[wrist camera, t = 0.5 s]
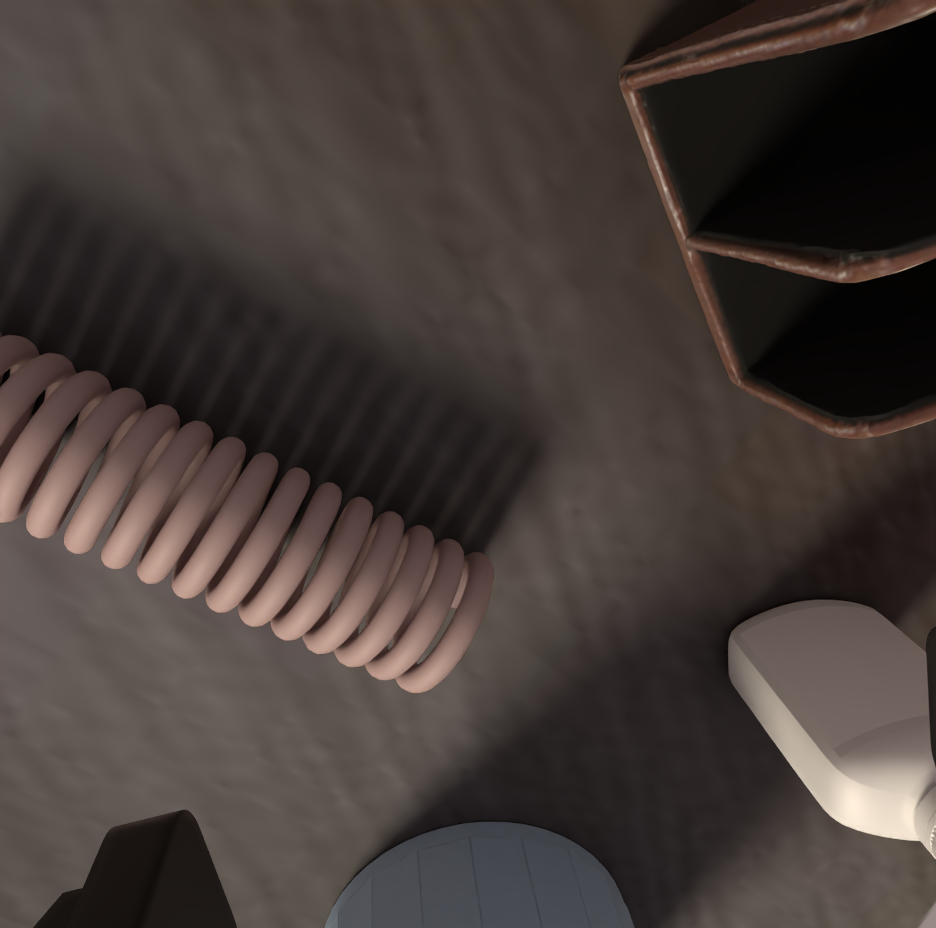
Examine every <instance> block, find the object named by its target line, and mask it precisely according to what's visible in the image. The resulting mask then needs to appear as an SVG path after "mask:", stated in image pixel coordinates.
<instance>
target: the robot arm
mask: <svg viewBox="0 0 936 928" xmlns="http://www.w3.org/2000/svg"><path fill="white" fill-rule="evenodd" d="M926 659H927V679H928V700H929V721H930V741H931V751H932V756H933V760H934V763H935V767H936V627H934V628H933V629H931V631H930V632H929V634H928V637H927V642H926ZM33 928H237V926H236V923H235V920H234V917H233V914H232V911H231V909H230V906H229V903H228V901H227V898H226V896H225V893H224V890H223V888H222V885H221V882H220V880H219V877H218V875H217V872H216V869H215V867H214V864H213V862H212V859H211V856H210V854H209V851H208V848H207V846H206V843H205V841H204V838H203V835H202V833H201V830H200V828H199V825H198V823H197V821H196V819H195V817H194V816H193V815H192V814H191V812H189V811H188V810H181V811H177V812H172V813H168V814H164V815H160V816H156V817H152V818H148V819H144V820H140V821H136V822H132V823H128V824H124V825H120V826H116V827H113V828H112V829H110V830H109V831H108V833H107V834H106V836H105V838H104V840H103V842H102V844H101V847H100V849H99V851H98V854H97V856H96V858H95V861H94V863H93V865H92V868H91V870H90V872H89V875H88V877H87V879H86V882H85V884H84V886H83V888H81V889H77V890H73V891H69V892H65V893H62V895H61V896H60V897H59V898H58V899H57V900H56V902H55V903H54V904H53V905H52V906H51V907H50V909H49V910H48V911H47V912H46V913H45V914H44V916H43V917H42V918H41V919H40V920H39V921H38V923H37V924H36V925H35V926H34V927H33Z"/></svg>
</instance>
